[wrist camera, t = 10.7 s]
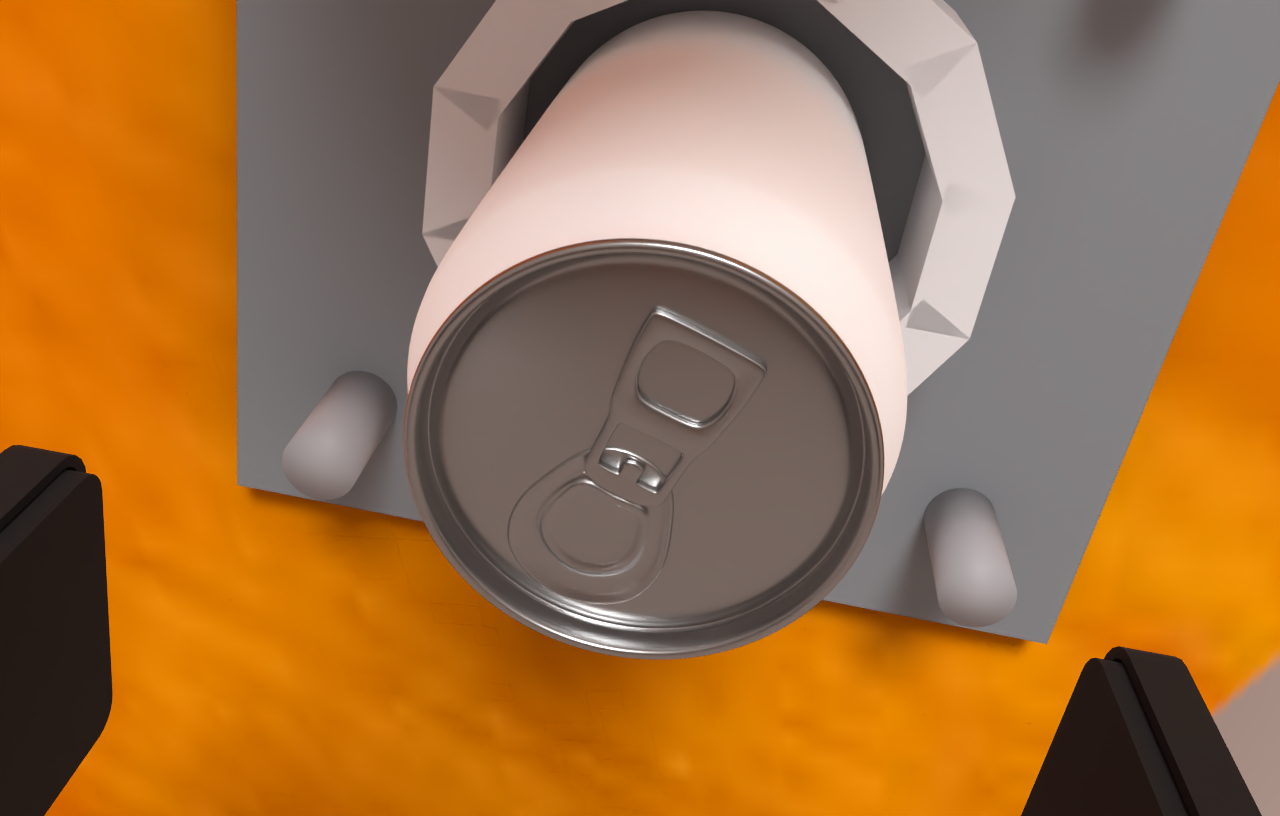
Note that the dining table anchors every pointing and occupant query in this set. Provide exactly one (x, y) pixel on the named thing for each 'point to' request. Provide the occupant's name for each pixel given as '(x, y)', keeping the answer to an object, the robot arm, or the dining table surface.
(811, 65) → the can
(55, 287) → the dining table surface
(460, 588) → the dining table surface
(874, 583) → the carrier plate
